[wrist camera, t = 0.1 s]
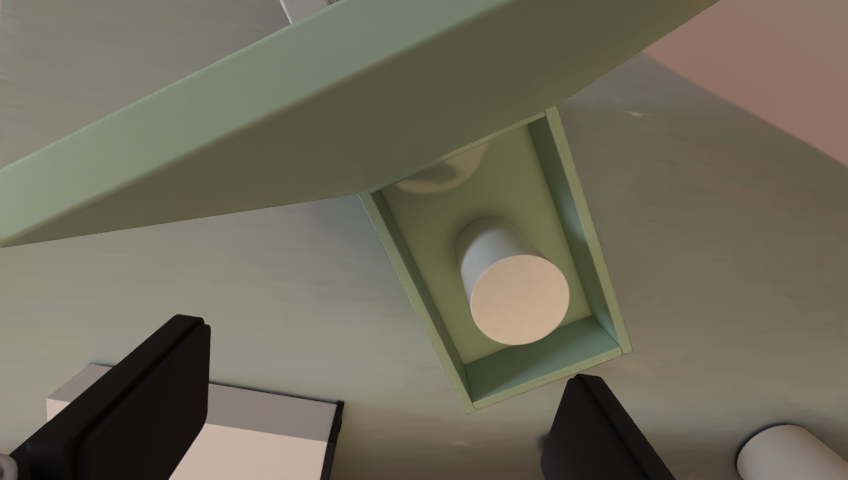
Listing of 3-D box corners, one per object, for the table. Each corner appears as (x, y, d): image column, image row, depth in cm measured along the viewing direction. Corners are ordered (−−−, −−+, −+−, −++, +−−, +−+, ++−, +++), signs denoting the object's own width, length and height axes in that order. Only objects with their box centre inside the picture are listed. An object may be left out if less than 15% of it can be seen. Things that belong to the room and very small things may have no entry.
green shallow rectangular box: (598, 314, 35) (633, 351, 30) (457, 369, 37) (466, 414, 31) (527, 101, 30) (554, 97, 24) (364, 174, 31) (353, 187, 25)
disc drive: (318, 536, 42) (306, 589, 37) (95, 506, 40) (53, 559, 35) (346, 401, 37) (336, 443, 32) (93, 359, 35) (43, 398, 30)
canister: (443, 234, 32) (455, 278, 23) (513, 204, 31) (552, 238, 23) (470, 296, 34) (491, 359, 25) (537, 269, 33) (581, 323, 24)
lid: (1286, -364, 3) (1194, -1059, 3) (-9, 251, 5) (-245, -152, 4) (559, 103, 24) (531, 29, 23) (355, 194, 25) (324, 125, 24)
